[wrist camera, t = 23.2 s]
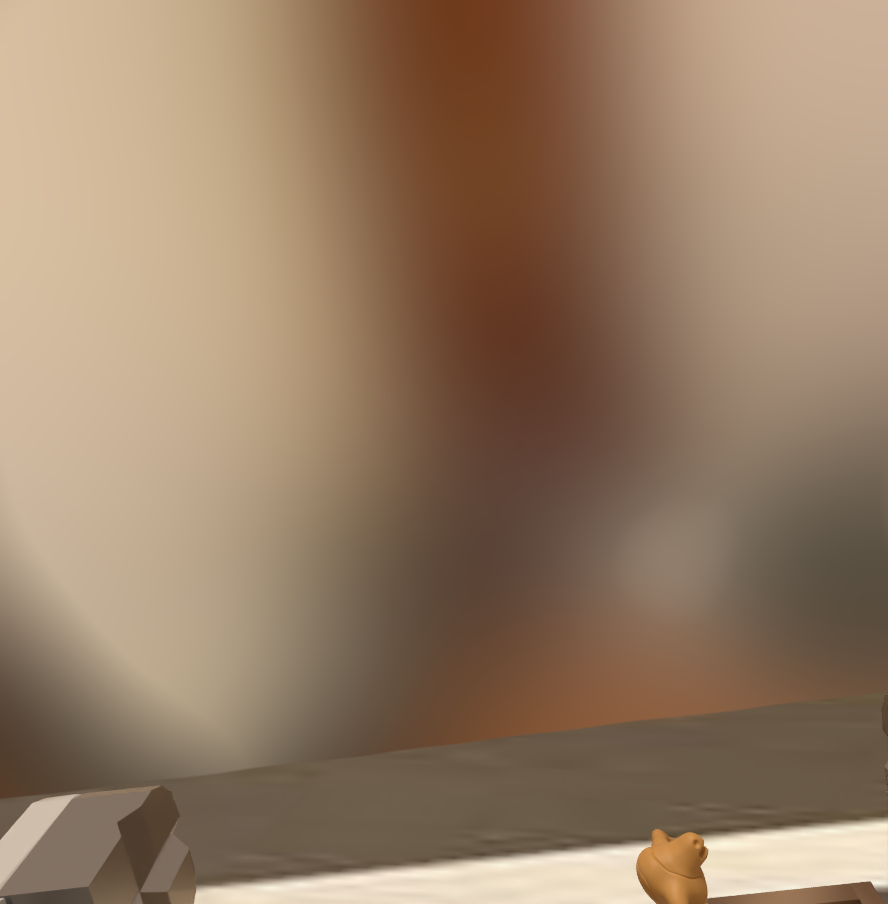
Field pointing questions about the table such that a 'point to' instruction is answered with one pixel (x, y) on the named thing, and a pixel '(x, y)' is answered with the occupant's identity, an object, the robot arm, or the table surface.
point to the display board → (810, 896)
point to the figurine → (673, 869)
